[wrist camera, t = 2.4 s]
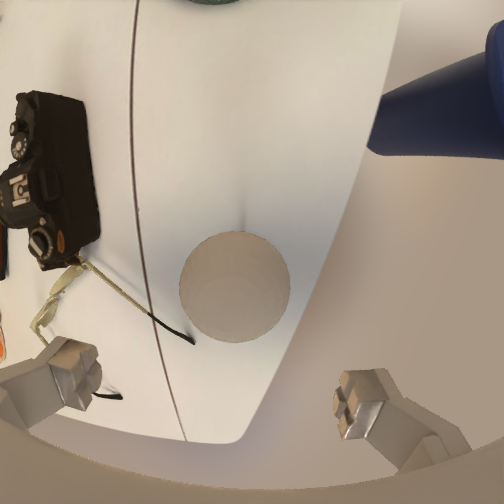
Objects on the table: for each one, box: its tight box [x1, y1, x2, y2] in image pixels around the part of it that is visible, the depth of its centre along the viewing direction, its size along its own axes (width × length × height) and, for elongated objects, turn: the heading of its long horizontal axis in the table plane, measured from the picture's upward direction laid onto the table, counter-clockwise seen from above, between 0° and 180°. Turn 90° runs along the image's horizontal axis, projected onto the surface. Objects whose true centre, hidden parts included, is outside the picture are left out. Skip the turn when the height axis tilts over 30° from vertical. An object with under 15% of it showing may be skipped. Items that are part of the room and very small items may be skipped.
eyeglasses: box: [30, 256, 195, 400], centre depth 28 cm, size 17×15×5 cm
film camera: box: [0, 90, 100, 271], centre depth 21 cm, size 18×12×10 cm
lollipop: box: [179, 231, 290, 343], centre depth 20 cm, size 6×6×15 cm
